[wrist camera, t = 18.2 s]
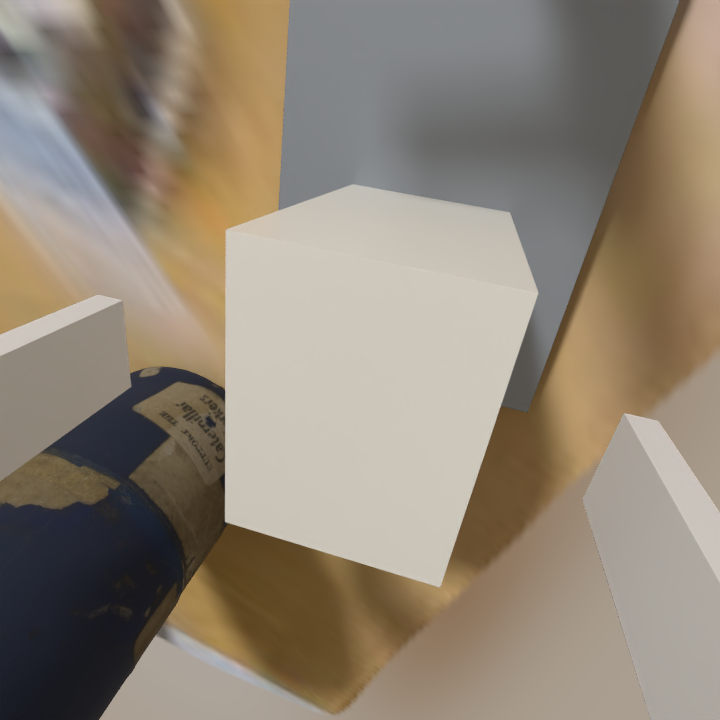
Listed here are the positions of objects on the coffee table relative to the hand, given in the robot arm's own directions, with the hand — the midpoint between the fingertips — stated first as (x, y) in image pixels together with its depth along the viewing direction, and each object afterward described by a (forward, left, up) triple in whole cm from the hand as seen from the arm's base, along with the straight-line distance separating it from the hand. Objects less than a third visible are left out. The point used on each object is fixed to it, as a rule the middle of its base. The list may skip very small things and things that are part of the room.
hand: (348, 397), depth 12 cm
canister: (-11, +11, -10) cm, 18 cm away
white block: (0, 0, -8) cm, 8 cm away
